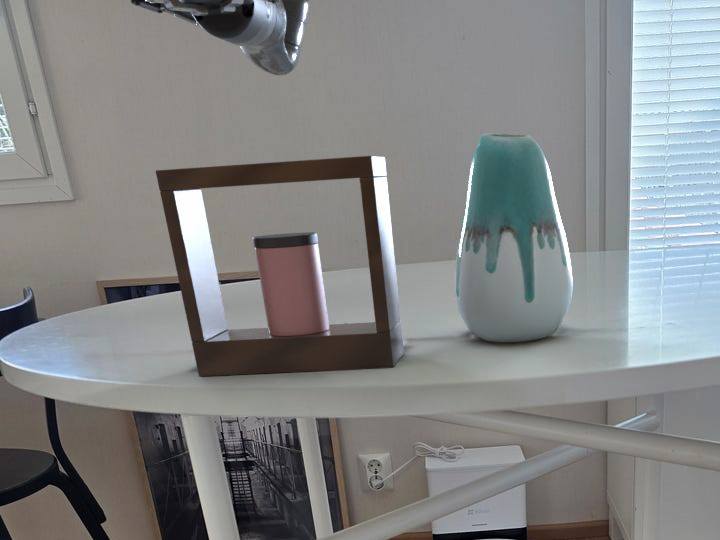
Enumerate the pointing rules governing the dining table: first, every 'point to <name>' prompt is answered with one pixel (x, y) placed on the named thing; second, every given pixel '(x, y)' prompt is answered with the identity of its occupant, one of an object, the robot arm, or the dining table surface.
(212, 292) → the shelf
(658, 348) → the dining table surface
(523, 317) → the vase
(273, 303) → the liner canister
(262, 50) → the robot arm
